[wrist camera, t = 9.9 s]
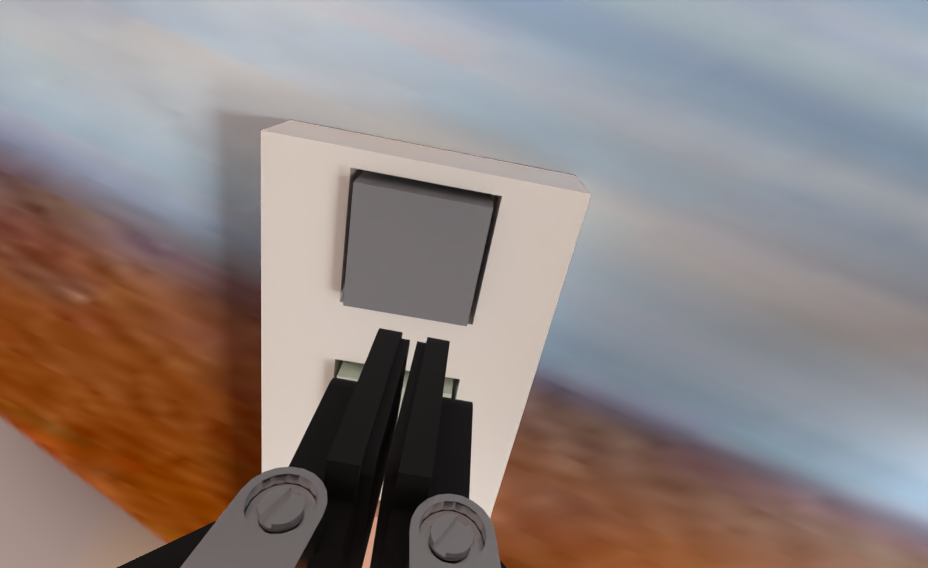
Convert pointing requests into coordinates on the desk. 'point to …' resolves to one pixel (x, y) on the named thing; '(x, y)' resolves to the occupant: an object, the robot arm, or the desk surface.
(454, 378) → the panel
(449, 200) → the charcoal button
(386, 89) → the desk surface
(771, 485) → the desk surface
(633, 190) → the desk surface
